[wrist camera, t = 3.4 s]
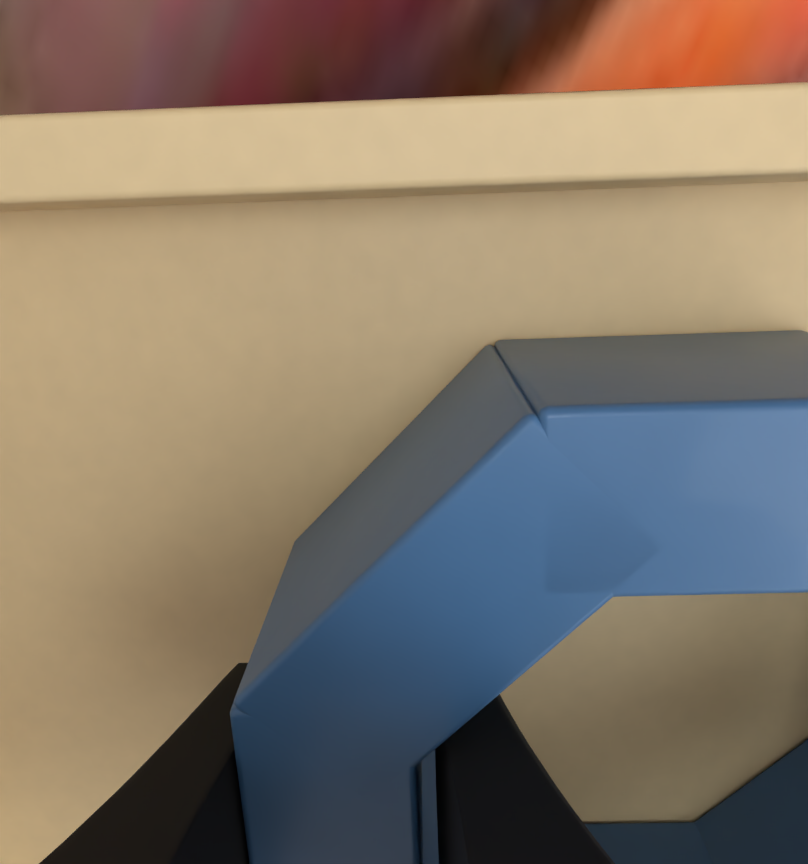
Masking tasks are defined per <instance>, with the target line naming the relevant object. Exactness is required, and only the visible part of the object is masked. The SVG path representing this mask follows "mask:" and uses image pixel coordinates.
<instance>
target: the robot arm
mask: <svg viewBox="0 0 808 864" xmlns="http://www.w3.org/2000/svg"><path fill="white" fill-rule="evenodd" d="M247 665H248V663H238V664H237V665H236V666H235V667H234V668H233V669H232V670H231V671H230V672H229V673H228V674H227V675H226V676H225V677H224V678H223V679H222V681H221V682H220V683H219V684H218V685H217V686H216V687H215V688H214V689H213V690H212V691H211V693H210V694H209V695H208V696H207V697H206V698H205V699H204V700H203V701H202V702H201V704H200V705H199V706H198V707H197V708H196V709H195V710H194V711H193V712H192V713H191V714H190V716H189V717H188V718H187V719H186V720H185V721H184V722H183V723H182V724H181V725H180V726H179V727H178V728H177V730H176V731H175V732H174V733H173V734H172V735H171V736H170V737H169V738H168V739H167V740H166V741H165V742H164V743H163V744H162V745H161V746H160V747H159V748H158V749H157V750H156V752H155V753H154V754H153V755H152V756H151V757H150V758H149V759H148V760H147V761H146V762H145V763H144V764H143V765H142V766H141V767H140V768H139V769H138V770H137V771H136V772H135V773H134V774H133V775H132V776H131V777H130V778H129V779H128V780H127V781H126V782H125V783H124V784H123V785H122V786H121V787H120V788H119V789H118V790H117V791H116V792H115V793H114V794H113V795H112V796H111V797H110V798H109V799H108V800H107V801H106V802H105V803H104V804H103V805H102V806H101V807H99V808H98V809H97V810H96V811H95V812H94V813H93V814H92V815H91V816H90V817H89V818H88V819H87V820H86V821H85V822H84V823H83V824H82V825H81V826H79V827H78V828H77V829H76V830H75V831H74V832H73V833H72V834H71V835H70V836H69V837H68V838H67V839H66V840H65V841H64V842H63V843H61V844H60V845H59V846H58V847H57V848H56V849H55V850H54V851H53V852H51V853H50V854H49V855H48V856H47V857H46V858H45V859H44V860H42V861H41V862H40V863H39V864H249V857H248V849H247V842H246V834H245V826H244V819H243V811H242V803H241V796H240V788H239V781H238V773H237V765H236V758H235V750H234V742H233V735H232V727H231V720H230V710H231V708H232V705H233V702H234V699H235V696H236V693H237V691H238V688H239V685H240V683H241V680H242V678H243V675H244V672H245V670H246V667H247ZM435 768H436V800H437V828H438V856H439V864H615V863H614V862H613V860H612V859H611V858H610V857H609V855H608V854H607V853H606V852H605V850H604V849H603V848H602V847H601V845H600V844H599V843H598V842H597V840H596V839H595V838H594V836H593V835H592V834H591V832H590V831H589V830H588V828H587V827H586V826H585V824H584V823H583V822H582V820H581V819H580V818H579V816H578V815H577V814H576V812H575V811H574V810H573V808H572V807H571V806H570V804H569V803H568V801H567V800H566V799H565V797H564V796H563V794H562V793H561V792H560V790H559V789H558V787H557V786H556V784H555V783H554V781H553V780H552V778H551V777H550V775H549V774H548V772H547V771H546V769H545V768H544V766H543V765H542V763H541V762H540V760H539V759H538V757H537V756H536V754H535V753H534V751H533V750H532V748H531V747H530V745H529V744H528V742H527V740H526V739H525V737H524V735H523V734H522V732H521V731H520V729H519V727H518V726H517V724H516V722H515V720H514V719H513V717H512V715H511V713H510V712H509V710H508V708H507V706H506V705H505V703H504V701H503V699H502V697H501V695H500V694H499V695H498V696H497V697H496V698H494V699H493V700H492V701H491V702H490V703H489V704H487V705H486V706H485V707H484V708H483V709H482V710H480V711H479V712H478V713H477V714H476V715H475V716H473V717H472V718H471V719H470V720H469V721H468V722H466V723H465V724H464V725H463V726H462V727H461V728H459V729H458V730H457V731H456V732H455V733H454V734H452V735H451V736H450V737H449V738H448V739H447V740H445V741H444V742H443V743H442V744H441V745H439V746H438V747H437V748H436V749H435Z"/></svg>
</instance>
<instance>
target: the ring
mask: <svg viewBox="0 0 808 864" xmlns="http://www.w3.org/2000/svg"><path fill="white" fill-rule="evenodd" d="M802 592H808V332H805V331H802V330H788V331H757V332H726V333H696V334H665V335H634V336H603V337H573V338H542V339H511V340H499V341H497V342H496V343H495V345H494V346H492V345H487V346H485V347H484V348H483V349H482V350H481V351H480V352H479V353H478V354H477V355H476V356H475V357H474V358H473V359H472V360H471V361H470V362H469V363H468V364H467V366H466V367H465V368H464V369H463V370H462V371H461V372H460V373H459V374H458V375H457V376H456V377H455V378H454V379H453V380H452V381H451V382H450V383H449V384H448V385H447V386H446V387H445V388H444V389H443V390H442V391H441V392H440V393H439V394H438V395H437V396H436V397H435V398H434V399H433V400H432V401H431V402H430V403H429V404H428V405H427V406H426V407H425V409H424V410H423V411H422V412H421V413H420V414H419V415H418V416H417V417H416V418H415V419H414V420H413V421H412V422H411V423H410V424H409V425H408V426H407V427H406V428H405V429H404V430H403V431H402V432H401V433H400V434H399V435H398V436H397V437H396V438H395V439H394V440H393V441H392V442H391V443H390V444H389V445H388V446H387V447H386V448H385V449H384V450H383V451H382V453H381V454H380V455H379V456H378V457H377V458H376V459H375V460H374V461H373V462H372V463H371V464H370V465H369V466H368V467H367V468H366V469H365V470H364V471H363V472H362V473H361V474H360V475H359V476H358V477H357V478H356V479H355V480H354V481H353V482H352V483H351V484H350V485H349V486H348V487H347V488H346V489H345V490H344V491H343V492H342V493H341V494H340V495H339V497H338V498H337V499H336V500H335V501H334V502H333V503H332V504H331V505H330V506H329V507H328V508H327V509H326V510H325V511H324V512H323V513H322V514H321V515H320V516H319V517H318V518H317V519H316V520H315V521H314V522H313V523H312V524H311V525H310V526H309V527H308V528H307V529H306V530H305V531H304V532H303V533H302V534H301V535H300V536H299V537H298V538H297V540H296V541H295V542H294V545H293V547H292V550H291V552H290V555H289V558H288V560H287V563H286V565H285V568H284V571H283V573H282V576H281V578H280V581H279V584H278V586H277V589H276V591H275V594H274V597H273V599H272V602H271V605H270V607H269V610H268V612H267V615H266V618H265V620H264V623H263V625H262V628H261V631H260V633H259V636H258V638H257V641H256V644H255V646H254V649H253V652H252V654H251V657H250V659H249V662H248V665H247V667H246V670H245V672H244V675H243V678H242V680H241V683H240V685H239V688H238V691H237V693H236V696H235V699H234V702H233V705H232V708H231V710H230V720H231V727H232V735H233V742H234V750H235V758H236V765H237V773H238V781H239V788H240V796H241V803H242V811H243V819H244V826H245V834H246V842H247V849H248V857H249V864H439V856H438V828H437V800H436V768H435V749H436V748H437V747H438V746H439V745H441V744H442V743H443V742H444V741H445V740H447V739H448V738H449V737H450V736H451V735H452V734H454V733H455V732H456V731H457V730H458V729H459V728H461V727H462V726H463V725H464V724H465V723H466V722H468V721H469V720H470V719H471V718H472V717H473V716H475V715H476V714H477V713H478V712H479V711H480V710H482V709H483V708H484V707H485V706H486V705H487V704H489V703H490V702H491V701H492V700H493V699H494V698H496V697H497V696H498V695H499V694H500V693H501V692H503V691H504V690H505V689H506V688H507V687H508V686H510V685H511V684H512V683H513V682H514V681H515V680H517V679H518V678H519V677H520V676H521V675H522V674H524V673H525V672H526V671H527V670H528V669H529V668H531V667H532V666H533V665H534V664H535V663H536V662H538V661H539V660H540V659H541V658H542V657H543V656H545V655H546V654H547V653H548V652H549V651H550V650H552V649H553V648H554V647H555V646H556V645H557V644H559V643H560V642H561V641H562V640H563V639H564V638H566V637H567V636H568V635H569V634H570V633H571V632H573V631H574V630H575V629H576V628H577V627H578V626H580V625H581V624H582V623H583V622H584V621H585V620H587V619H588V618H589V617H590V616H591V615H592V614H594V613H595V612H596V611H597V610H598V609H599V608H601V607H602V606H603V605H604V604H605V603H607V602H608V601H609V600H610V599H611V598H612V597H622V596H667V595H712V594H757V593H802ZM585 826H586V827H587V828H588V830H589V831H590V832H591V834H592V835H593V836H594V838H595V839H596V840H597V842H598V843H599V844H600V845H601V847H602V848H603V849H604V850H605V852H606V853H607V854H608V855H609V857H610V858H611V859H612V860H613V862H614V863H615V864H808V739H807V740H806V741H804V742H803V743H802V744H800V745H799V746H798V747H796V748H795V749H793V750H792V751H791V752H789V753H788V754H787V755H785V756H784V757H783V758H781V759H780V760H778V761H777V762H776V763H774V764H773V765H772V766H770V767H769V768H767V769H766V770H765V771H763V772H762V773H761V774H759V775H758V776H757V777H755V778H754V779H752V780H751V781H750V782H748V783H747V784H746V785H744V786H743V787H742V788H740V789H739V790H737V791H736V792H735V793H733V794H732V795H731V796H729V797H728V798H726V799H725V800H724V801H722V802H721V803H720V804H718V805H717V806H716V807H714V808H713V809H711V810H710V811H709V812H707V813H706V814H705V815H703V816H702V817H700V818H699V819H698V820H696V821H695V822H674V823H598V824H585Z"/></svg>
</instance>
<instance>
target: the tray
mask: <svg viewBox="0 0 808 864" xmlns="http://www.w3.org/2000/svg"><path fill="white" fill-rule="evenodd" d="M788 330H802V331H805V332H808V82H796V83H771V84H747V85H722V86H698V87H674V88H649V89H625V90H600V91H576V92H552V93H527V94H503V95H479V96H454V97H430V98H405V99H381V100H357V101H332V102H308V103H283V104H259V105H235V106H210V107H186V108H161V109H137V110H113V111H88V112H64V113H40V114H15V115H0V864H39V863H40V862H41V861H42V860H44V859H45V858H46V857H47V856H48V855H49V854H50V853H51V852H53V851H54V850H55V849H56V848H57V847H58V846H59V845H60V844H61V843H63V842H64V841H65V840H66V839H67V838H68V837H69V836H70V835H71V834H72V833H73V832H74V831H75V830H76V829H77V828H78V827H79V826H81V825H82V824H83V823H84V822H85V821H86V820H87V819H88V818H89V817H90V816H91V815H92V814H93V813H94V812H95V811H96V810H97V809H98V808H99V807H101V806H102V805H103V804H104V803H105V802H106V801H107V800H108V799H109V798H110V797H111V796H112V795H113V794H114V793H115V792H116V791H117V790H118V789H119V788H120V787H121V786H122V785H123V784H124V783H125V782H126V781H127V780H128V779H129V778H130V777H131V776H132V775H133V774H134V773H135V772H136V771H137V770H138V769H139V768H140V767H141V766H142V765H143V764H144V763H145V762H146V761H147V760H148V759H149V758H150V757H151V756H152V755H153V754H154V753H155V752H156V750H157V749H158V748H159V747H160V746H161V745H162V744H163V743H164V742H165V741H166V740H167V739H168V738H169V737H170V736H171V735H172V734H173V733H174V732H175V731H176V730H177V728H178V727H179V726H180V725H181V724H182V723H183V722H184V721H185V720H186V719H187V718H188V717H189V716H190V714H191V713H192V712H193V711H194V710H195V709H196V708H197V707H198V706H199V705H200V704H201V702H202V701H203V700H204V699H205V698H206V697H207V696H208V695H209V694H210V693H211V691H212V690H213V689H214V688H215V687H216V686H217V685H218V684H219V683H220V682H221V681H222V679H223V678H224V677H225V676H226V675H227V674H228V673H229V672H230V671H231V670H232V669H233V668H234V667H235V666H236V665H237V664H238V663H248V662H249V659H250V657H251V654H252V652H253V649H254V646H255V644H256V641H257V638H258V636H259V633H260V631H261V628H262V625H263V623H264V620H265V618H266V615H267V612H268V610H269V607H270V605H271V602H272V599H273V597H274V594H275V591H276V589H277V586H278V584H279V581H280V578H281V576H282V573H283V571H284V568H285V565H286V563H287V560H288V558H289V555H290V552H291V550H292V547H293V545H294V542H295V541H296V540H297V538H298V537H299V536H300V535H301V534H302V533H303V532H304V531H305V530H306V529H307V528H308V527H309V526H310V525H311V524H312V523H313V522H314V521H315V520H316V519H317V518H318V517H319V516H320V515H321V514H322V513H323V512H324V511H325V510H326V509H327V508H328V507H329V506H330V505H331V504H332V503H333V502H334V501H335V500H336V499H337V498H338V497H339V495H340V494H341V493H342V492H343V491H344V490H345V489H346V488H347V487H348V486H349V485H350V484H351V483H352V482H353V481H354V480H355V479H356V478H357V477H358V476H359V475H360V474H361V473H362V472H363V471H364V470H365V469H366V468H367V467H368V466H369V465H370V464H371V463H372V462H373V461H374V460H375V459H376V458H377V457H378V456H379V455H380V454H381V453H382V451H383V450H384V449H385V448H386V447H387V446H388V445H389V444H390V443H391V442H392V441H393V440H394V439H395V438H396V437H397V436H398V435H399V434H400V433H401V432H402V431H403V430H404V429H405V428H406V427H407V426H408V425H409V424H410V423H411V422H412V421H413V420H414V419H415V418H416V417H417V416H418V415H419V414H420V413H421V412H422V411H423V410H424V409H425V407H426V406H427V405H428V404H429V403H430V402H431V401H432V400H433V399H434V398H435V397H436V396H437V395H438V394H439V393H440V392H441V391H442V390H443V389H444V388H445V387H446V386H447V385H448V384H449V383H450V382H451V381H452V380H453V379H454V378H455V377H456V376H457V375H458V374H459V373H460V372H461V371H462V370H463V369H464V368H465V367H466V366H467V364H468V363H469V362H470V361H471V360H472V359H473V358H474V357H475V356H476V355H477V354H478V353H479V352H480V351H481V350H482V349H483V348H484V347H485V346H487V345H492V346H494V345H495V343H496V342H497V341H499V340H511V339H542V338H573V337H603V336H634V335H665V334H696V333H726V332H757V331H788ZM500 695H501V697H502V699H503V701H504V703H505V705H506V706H507V708H508V710H509V712H510V713H511V715H512V717H513V719H514V720H515V722H516V724H517V726H518V727H519V729H520V731H521V732H522V734H523V735H524V737H525V739H526V740H527V742H528V744H529V745H530V747H531V748H532V750H533V751H534V753H535V754H536V756H537V757H538V759H539V760H540V762H541V763H542V765H543V766H544V768H545V769H546V771H547V772H548V774H549V775H550V777H551V778H552V780H553V781H554V783H555V784H556V786H557V787H558V789H559V790H560V792H561V793H562V794H563V796H564V797H565V799H566V800H567V801H568V803H569V804H570V806H571V807H572V808H573V810H574V811H575V812H576V814H577V815H578V816H579V818H580V819H581V820H582V822H583V823H584V824H598V823H674V822H695V821H696V820H698V819H699V818H700V817H702V816H703V815H705V814H706V813H707V812H709V811H710V810H711V809H713V808H714V807H716V806H717V805H718V804H720V803H721V802H722V801H724V800H725V799H726V798H728V797H729V796H731V795H732V794H733V793H735V792H736V791H737V790H739V789H740V788H742V787H743V786H744V785H746V784H747V783H748V782H750V781H751V780H752V779H754V778H755V777H757V776H758V775H759V774H761V773H762V772H763V771H765V770H766V769H767V768H769V767H770V766H772V765H773V764H774V763H776V762H777V761H778V760H780V759H781V758H783V757H784V756H785V755H787V754H788V753H789V752H791V751H792V750H793V749H795V748H796V747H798V746H799V745H800V744H802V743H803V742H804V741H806V740H807V739H808V592H802V593H757V594H712V595H667V596H622V597H612V598H611V599H610V600H609V601H608V602H607V603H605V604H604V605H603V606H602V607H601V608H599V609H598V610H597V611H596V612H595V613H594V614H592V615H591V616H590V617H589V618H588V619H587V620H585V621H584V622H583V623H582V624H581V625H580V626H578V627H577V628H576V629H575V630H574V631H573V632H571V633H570V634H569V635H568V636H567V637H566V638H564V639H563V640H562V641H561V642H560V643H559V644H557V645H556V646H555V647H554V648H553V649H552V650H550V651H549V652H548V653H547V654H546V655H545V656H543V657H542V658H541V659H540V660H539V661H538V662H536V663H535V664H534V665H533V666H532V667H531V668H529V669H528V670H527V671H526V672H525V673H524V674H522V675H521V676H520V677H519V678H518V679H517V680H515V681H514V682H513V683H512V684H511V685H510V686H508V687H507V688H506V689H505V690H504V691H503V692H501V693H500Z"/></svg>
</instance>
